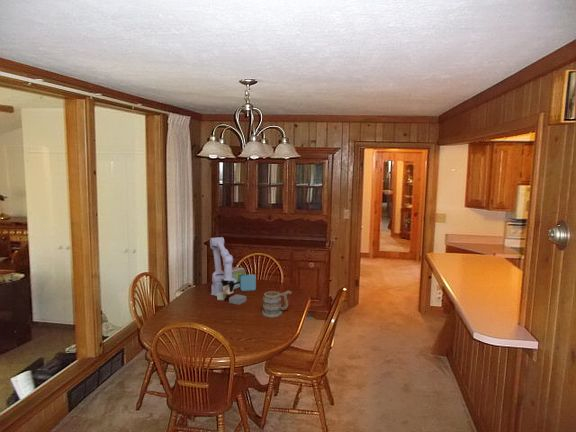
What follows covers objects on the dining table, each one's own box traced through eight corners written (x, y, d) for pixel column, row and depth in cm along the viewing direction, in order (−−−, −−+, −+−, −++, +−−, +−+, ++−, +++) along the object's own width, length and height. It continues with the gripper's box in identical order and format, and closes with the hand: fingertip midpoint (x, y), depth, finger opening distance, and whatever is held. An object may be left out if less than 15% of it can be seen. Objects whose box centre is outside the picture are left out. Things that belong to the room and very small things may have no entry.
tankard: (264, 318, 269) (264, 295, 267) (260, 311, 281) (260, 290, 279) (294, 315, 275) (294, 293, 273) (289, 308, 287) (289, 287, 285)
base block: (229, 302, 299) (228, 297, 298) (236, 299, 307) (236, 294, 306) (239, 305, 294) (239, 299, 294) (246, 301, 302) (246, 296, 302)
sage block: (217, 299, 305) (217, 293, 304) (219, 297, 310) (219, 291, 309) (223, 300, 304) (223, 293, 303) (226, 298, 308) (226, 291, 308)
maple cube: (223, 293, 297) (223, 286, 296) (228, 291, 301) (228, 284, 300) (228, 294, 294) (228, 287, 293) (233, 292, 298) (233, 286, 297)
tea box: (232, 290, 327) (232, 272, 325) (223, 287, 333) (223, 270, 331) (245, 285, 339) (245, 268, 337) (236, 283, 345) (236, 266, 343)
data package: (255, 288, 332) (255, 274, 330) (255, 290, 327) (255, 275, 326) (240, 289, 329) (240, 274, 328) (240, 291, 325) (240, 276, 324)
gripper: (216, 271, 296) (217, 290, 298) (231, 275, 288) (232, 294, 290) (223, 269, 302) (224, 287, 304) (238, 272, 294) (238, 291, 295)
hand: (228, 290), depth 297 cm, fingers closed on maple cube, 5 cm apart
